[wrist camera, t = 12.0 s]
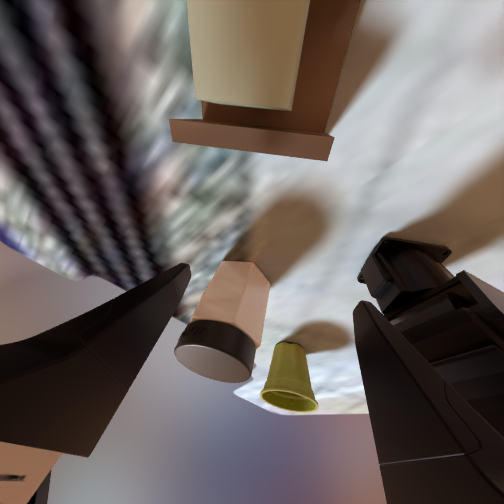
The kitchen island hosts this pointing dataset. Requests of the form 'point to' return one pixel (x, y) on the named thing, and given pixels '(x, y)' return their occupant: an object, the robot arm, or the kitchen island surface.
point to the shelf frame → (304, 102)
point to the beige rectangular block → (247, 51)
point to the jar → (226, 324)
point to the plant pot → (289, 380)
